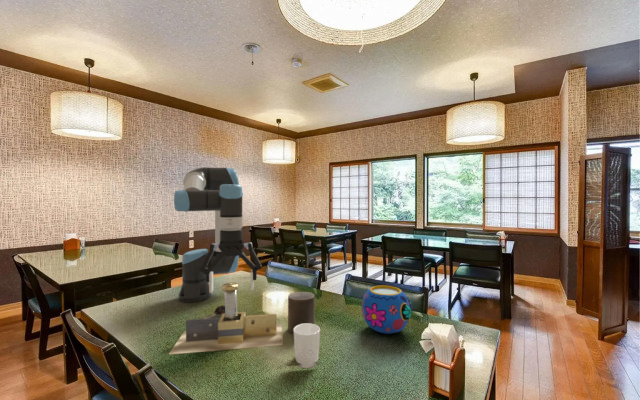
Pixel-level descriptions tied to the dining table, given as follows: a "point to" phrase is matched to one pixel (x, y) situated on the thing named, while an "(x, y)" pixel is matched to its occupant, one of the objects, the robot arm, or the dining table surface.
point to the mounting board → (214, 346)
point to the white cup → (306, 344)
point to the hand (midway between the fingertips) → (231, 290)
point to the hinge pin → (230, 301)
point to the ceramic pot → (386, 309)
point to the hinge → (230, 328)
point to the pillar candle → (300, 309)
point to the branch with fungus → (216, 313)
